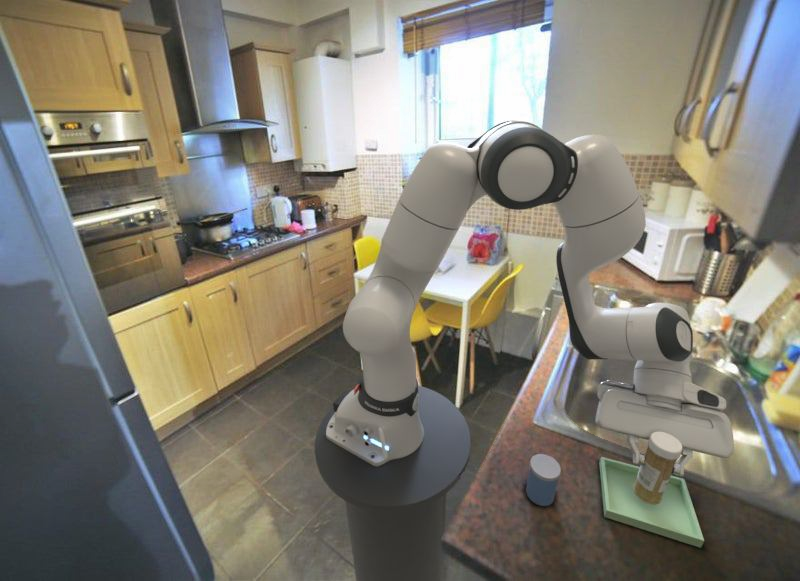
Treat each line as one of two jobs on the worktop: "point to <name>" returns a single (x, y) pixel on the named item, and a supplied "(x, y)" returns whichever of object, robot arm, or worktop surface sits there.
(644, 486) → the sprinkles bottle
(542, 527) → the worktop surface
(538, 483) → the blue tin
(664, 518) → the sage tray
